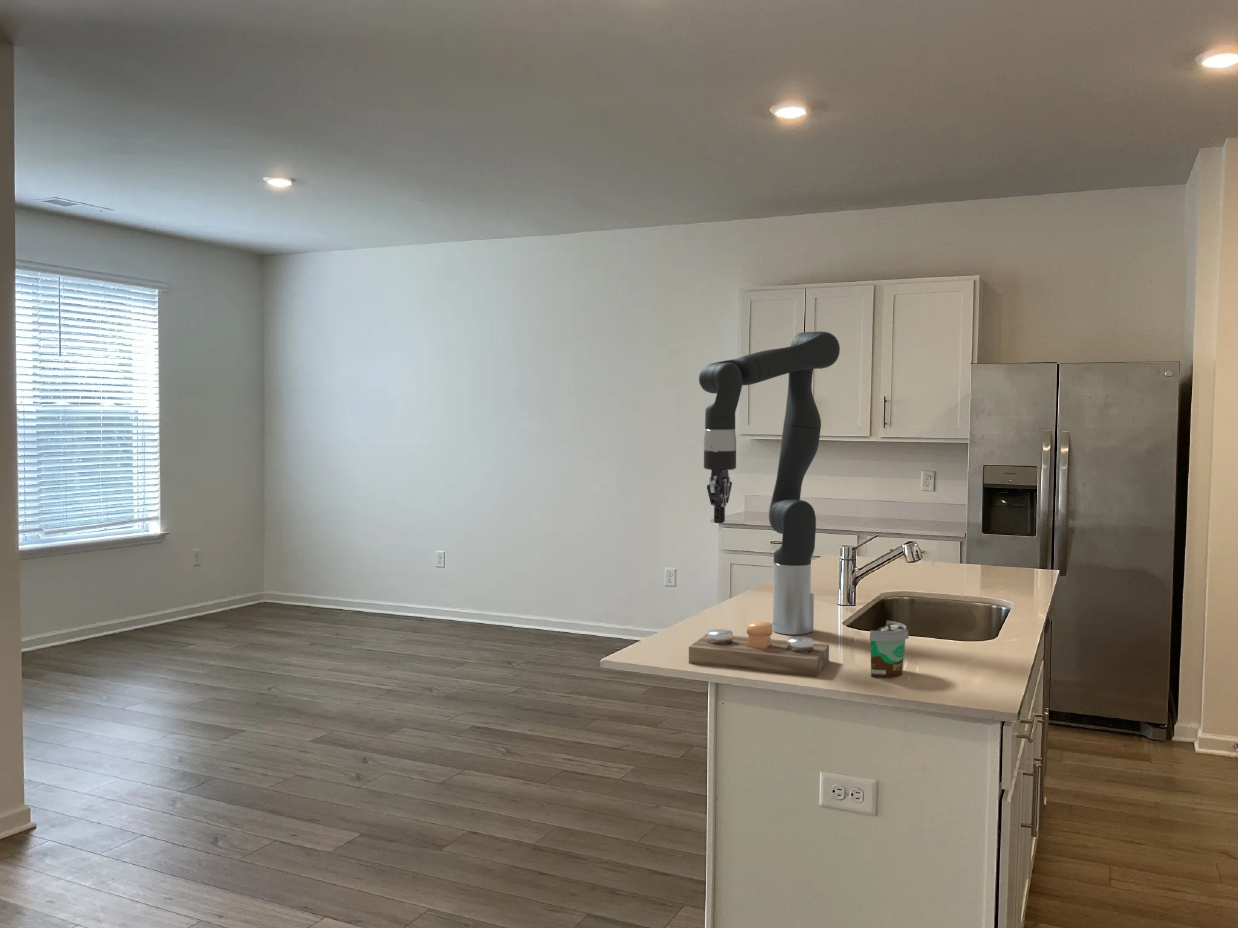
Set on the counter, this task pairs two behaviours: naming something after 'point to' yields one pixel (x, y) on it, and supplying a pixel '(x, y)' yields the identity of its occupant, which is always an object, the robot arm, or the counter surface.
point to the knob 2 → (800, 644)
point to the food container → (888, 650)
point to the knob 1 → (720, 636)
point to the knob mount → (760, 656)
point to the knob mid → (759, 634)
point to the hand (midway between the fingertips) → (719, 522)
